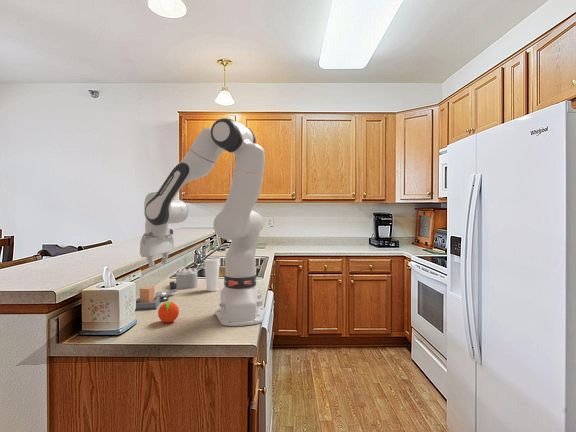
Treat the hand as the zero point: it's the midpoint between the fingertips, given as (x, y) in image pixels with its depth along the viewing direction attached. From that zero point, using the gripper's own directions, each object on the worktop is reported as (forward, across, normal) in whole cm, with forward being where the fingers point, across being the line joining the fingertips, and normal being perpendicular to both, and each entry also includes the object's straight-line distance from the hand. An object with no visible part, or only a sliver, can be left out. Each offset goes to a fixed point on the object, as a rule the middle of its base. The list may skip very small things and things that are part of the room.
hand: (158, 265), depth 143 cm
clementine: (+17, -21, -15) cm, 31 cm away
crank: (+14, +10, +2) cm, 18 cm away
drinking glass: (+17, +26, -12) cm, 33 cm away
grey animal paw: (+16, +34, +4) cm, 37 cm away
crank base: (+16, +6, +3) cm, 17 cm away
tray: (+16, -4, +4) cm, 17 cm away
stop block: (+15, -4, +3) cm, 16 cm away
